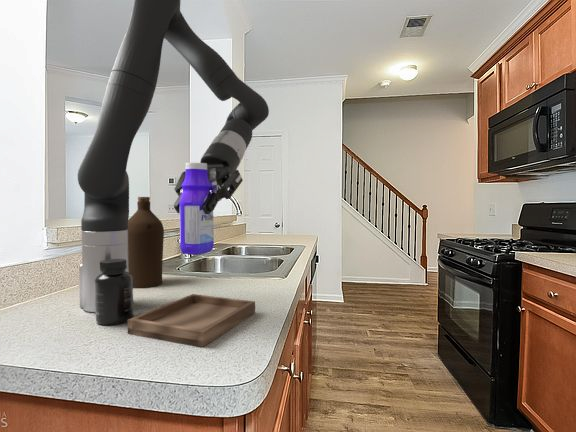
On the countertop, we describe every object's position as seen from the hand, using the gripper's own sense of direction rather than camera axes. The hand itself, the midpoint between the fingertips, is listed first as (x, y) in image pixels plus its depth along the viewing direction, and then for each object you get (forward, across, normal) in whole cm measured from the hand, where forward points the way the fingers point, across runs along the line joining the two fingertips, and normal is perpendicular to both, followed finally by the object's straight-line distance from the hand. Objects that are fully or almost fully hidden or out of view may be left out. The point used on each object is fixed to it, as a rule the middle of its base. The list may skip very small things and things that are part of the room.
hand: (191, 210), depth 66 cm
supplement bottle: (+18, -16, +13) cm, 28 cm away
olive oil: (0, -33, +32) cm, 46 cm away
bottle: (+5, 0, +7) cm, 9 cm away
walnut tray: (+15, 0, +17) cm, 22 cm away
